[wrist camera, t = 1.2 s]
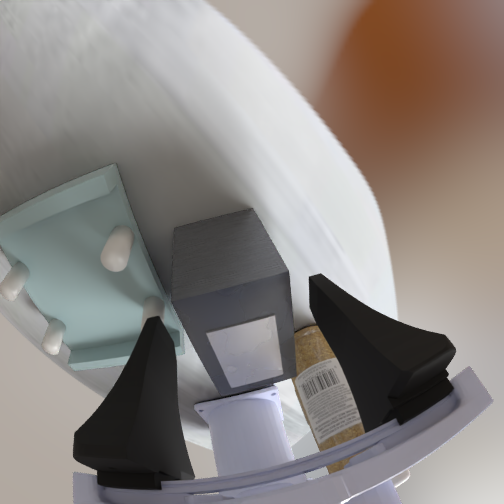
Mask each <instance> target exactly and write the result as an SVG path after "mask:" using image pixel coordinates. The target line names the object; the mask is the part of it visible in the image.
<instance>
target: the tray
mask: <svg viewBox="0 0 504 504" xmlns="http://www.w3.org/2000/svg"><path fill="white" fill-rule="evenodd" d="M0 246H1V248H2V250H3V252H4V253H5V255H6V257H7V259H8V261H9V263H10V265H11V266H12V268H11V270H10V271H9V273H8V274H7V275H6V277H5V278H4V280H3V281H2V283H1V284H0V292H1V294H2V296H3V297H4V298H5V299H7V300H8V301H15V299H16V298H17V296H18V294H19V293H20V291H21V289H22V287H24V288H25V290H26V291H27V293H28V294H29V296H30V297H31V299H32V300H33V302H34V303H35V305H36V306H37V308H38V309H39V311H40V312H41V313H42V315H43V316H44V317H45V319H46V320H47V322H48V323H49V326H48V328H47V331H46V334H45V336H44V339H43V342H42V348H43V349H44V350H45V351H46V352H47V353H49V354H51V355H57V354H58V353H59V349H60V346H61V343H62V341H63V342H64V343H65V344H66V345H67V347H68V348H69V349H70V350H71V353H70V357H69V361H68V365H69V366H70V367H71V368H72V369H73V370H74V371H79V370H88V369H97V368H105V367H113V366H120V365H126V363H127V361H128V359H129V357H130V355H131V353H132V351H133V349H134V347H135V344H136V342H137V340H138V338H139V335H140V333H141V331H142V329H143V326H144V324H145V322H146V320H147V318H150V317H154V316H160V318H161V320H162V322H163V324H164V325H165V327H166V329H167V331H168V333H169V334H170V336H171V338H172V340H173V341H174V345H175V352H176V356H178V355H183V354H185V348H184V331H183V328H182V326H181V324H180V322H179V320H178V318H177V316H176V314H175V312H174V310H173V308H172V306H171V304H170V301H169V299H168V297H167V295H166V293H165V291H164V288H163V286H162V284H161V282H160V280H159V277H158V275H157V273H156V270H155V268H154V266H153V263H152V261H151V259H150V256H149V254H148V251H147V249H146V246H145V244H144V241H143V239H142V236H141V234H140V231H139V229H138V226H137V223H136V221H135V218H134V215H133V213H132V210H131V207H130V204H129V201H128V198H127V196H126V193H125V190H124V187H123V184H122V181H121V177H120V174H119V171H118V168H117V165H116V163H114V164H111V165H109V166H106V167H103V168H101V169H98V170H95V171H93V172H90V173H88V174H85V175H83V176H81V177H78V178H76V179H73V180H71V181H69V182H67V183H64V184H62V185H60V186H58V187H55V188H53V189H51V190H49V191H47V192H45V193H43V194H41V195H39V196H37V197H35V198H33V199H31V200H29V201H27V202H25V203H23V204H21V205H19V206H18V207H16V208H14V209H12V210H10V211H9V212H7V213H5V214H3V215H2V216H0Z"/></svg>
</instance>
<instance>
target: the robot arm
mask: <svg viewBox="0 0 504 504" xmlns="http://www.w3.org/2000/svg"><path fill="white" fill-rule="evenodd" d="M309 304H310V309H311V312H312V314H313V317H314V319H315V321H316V323H317V325H318V327H319V329H320V331H321V332H322V334H323V336H324V338H325V339H326V341H327V343H328V344H329V346H330V348H331V350H332V351H333V353H334V355H335V356H336V358H337V360H338V362H339V364H340V366H341V368H342V371H343V373H344V375H345V378H346V380H347V382H348V385H349V387H350V390H351V392H352V395H353V398H354V400H355V403H356V406H357V409H358V412H359V415H360V418H361V421H362V424H363V428H364V431H365V434H363V435H361V436H358V437H356V438H354V439H352V440H349V441H347V442H344V443H342V444H339V445H337V446H334V447H332V448H329V449H326V450H324V451H321V452H318V453H315V454H312V455H309V456H306V457H303V458H300V459H296V460H295V458H294V455H293V452H292V449H291V446H290V443H289V440H288V437H287V434H286V431H285V428H284V425H283V422H282V421H283V420H284V419H283V413H282V408H281V403H280V397H279V392H278V388H277V387H276V386H272V387H268V388H264V389H261V390H257V391H253V392H249V393H245V394H241V395H237V396H232V397H228V398H223V399H218V400H213V401H208V402H203V403H198V404H195V405H194V409H195V410H196V412H197V413H198V414H199V415H200V416H201V417H202V418H203V419H204V421H205V422H206V423H207V424H208V425H209V429H210V435H211V440H212V446H213V451H214V456H215V462H216V467H217V471H218V477H212V478H203V479H194V478H195V475H194V472H193V469H192V466H191V462H190V459H189V456H188V452H187V448H186V445H185V440H184V436H183V431H182V426H181V421H180V415H179V409H178V396H177V360H176V352H175V345H174V341H173V340H172V338H171V336H170V334H169V333H168V331H167V329H166V327H165V325H164V324H163V322H162V320H161V318H160V316H154V317H150V318H147V320H146V322H145V324H144V326H143V329H142V331H141V333H140V335H139V338H138V340H137V342H136V344H135V347H134V349H133V351H132V353H131V355H130V357H129V359H128V361H127V363H126V365H125V367H124V369H123V371H122V373H121V375H120V377H119V378H118V380H117V382H116V383H115V385H114V387H113V388H112V390H111V391H110V392H109V394H108V395H107V397H106V398H105V399H104V401H103V402H102V404H101V405H100V406H99V407H98V409H97V410H96V411H95V412H94V413H93V414H92V416H91V417H90V418H89V419H88V420H87V421H86V422H85V423H84V424H83V425H82V426H81V427H80V428H79V429H78V430H77V431H76V432H75V434H74V445H73V457H74V459H75V460H76V461H78V462H80V463H81V464H83V465H86V466H88V467H90V468H92V469H95V470H97V476H96V475H92V474H86V473H78V472H74V473H73V499H74V501H73V502H74V504H402V502H401V500H400V498H399V496H398V493H397V491H396V489H395V487H394V485H393V482H392V480H391V479H392V478H393V477H395V476H397V475H399V474H400V473H402V472H404V471H406V470H407V469H409V468H411V467H412V466H414V465H415V464H417V463H418V462H420V461H421V460H423V459H425V458H426V457H427V456H429V455H430V454H432V453H433V452H435V451H436V450H438V449H439V448H440V447H441V446H443V445H444V444H446V443H447V442H448V441H450V440H451V439H452V438H453V437H454V436H456V435H457V434H458V433H460V432H461V431H462V430H463V429H464V428H466V427H467V426H468V425H469V424H470V423H471V422H473V421H474V420H475V419H476V418H477V417H478V416H479V415H480V414H481V413H482V412H484V410H486V409H487V408H488V407H489V406H490V405H491V404H492V403H493V399H492V397H491V396H490V394H489V393H488V391H487V390H486V388H485V387H484V386H483V384H482V383H481V381H480V380H479V378H478V377H477V375H476V374H475V373H474V371H473V370H472V368H471V367H470V366H468V367H467V368H465V369H464V370H463V371H462V372H460V373H459V374H458V375H456V376H455V377H454V378H453V379H452V380H451V381H449V380H448V378H447V377H448V375H449V373H448V372H447V370H446V368H447V366H448V365H449V363H450V362H451V360H452V359H453V357H454V355H455V353H456V348H455V347H454V346H453V344H452V343H451V342H450V340H449V339H448V338H447V337H446V336H445V335H444V334H439V333H434V332H429V331H426V330H422V329H419V328H415V327H412V326H409V325H407V324H404V323H402V322H399V321H397V320H394V319H392V318H390V317H387V316H385V315H383V314H381V313H379V312H377V311H376V310H374V309H372V308H370V307H368V306H367V305H365V304H364V303H362V302H360V301H359V300H357V299H356V298H354V297H353V296H351V295H350V294H348V293H347V292H345V291H344V290H343V289H341V288H340V287H339V286H337V285H336V284H334V283H333V282H332V281H330V280H329V279H328V278H326V277H325V276H324V275H322V274H321V273H320V274H317V275H314V276H310V277H309ZM367 449H368V450H367ZM364 450H366V451H364ZM362 451H364V452H362ZM360 452H362V453H360ZM358 453H360V454H358ZM355 454H358V455H356V456H354V457H352V458H351V459H350V460H349V463H348V464H346V465H345V466H344V469H342V470H340V471H337V472H334V473H331V474H328V475H325V476H322V477H319V478H316V479H313V478H308V479H307V478H306V475H305V474H304V473H307V472H311V471H314V470H316V469H319V468H322V467H325V466H328V465H331V464H333V463H336V462H339V461H341V460H344V459H346V458H348V457H351V456H353V455H355ZM301 474H302V475H301ZM214 492H219V494H213V495H212V494H211V495H193V494H205V493H214Z"/></svg>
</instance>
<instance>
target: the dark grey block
mask: <svg viewBox="0 0 504 504" xmlns="http://www.w3.org/2000/svg"><path fill="white" fill-rule="evenodd" d="M171 302H172V304H173V306H174V309H175V311H176V313H177V315H178V317H179V319H180V321H181V323H182V325H183V327H184V329H185V331H186V333H187V335H188V337H189V339H190V341H191V343H192V345H193V347H194V349H195V350H196V352H197V354H198V356H199V358H200V360H201V362H202V363H203V365H204V367H205V369H206V371H207V372H208V374H209V376H210V378H211V380H212V381H213V383H214V385H215V386H216V388H217V390H218V392H219V393H220V395H221V396H226V395H230V394H235V393H239V392H243V391H247V390H251V389H255V388H259V387H263V386H266V385H270V384H273V383H277V382H280V381H284V380H287V379H290V378H293V377H296V376H297V370H296V353H295V338H294V324H293V311H292V299H291V287H290V276H289V270H288V268H287V267H286V265H285V263H284V261H283V260H282V258H281V256H280V254H279V253H278V251H277V249H276V247H275V246H274V244H273V242H272V240H271V239H270V237H269V235H268V233H267V232H266V230H265V228H264V226H263V225H262V223H261V221H260V220H259V218H258V216H257V214H256V213H255V211H254V209H253V208H252V209H247V210H243V211H239V212H235V213H231V214H227V215H223V216H219V217H215V218H211V219H207V220H203V221H199V222H195V223H191V224H188V225H184V226H180V227H176V228H174V242H173V261H172V289H171Z"/></svg>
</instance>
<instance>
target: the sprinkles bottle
mask: <svg viewBox="0 0 504 504" xmlns="http://www.w3.org/2000/svg"><path fill="white" fill-rule="evenodd" d="M294 338H295V353H296V370H297V376H296V377H293V378H291V379H292V382H293V384H294V387H295V392H296V395H297V398H298V400H299V403H300V406H301V408H302V411H303V413H304V416H305V418H306V421H307V423H308V425H309V426H310V428H311V430H312V433H313V436H314V438H315V441H316V443H317V445H318V448H319V450H320V452H321V451H324V450H326V449H329V448H332V447H334V446H337V445H339V444H342V443H344V442H347V441H349V440H352V439H354V438H356V437H358V436H361V435H363V434H365V431H364V428H363V424H362V421H361V418H360V415H359V412H358V409H357V406H356V403H355V400H354V398H353V395H352V392H351V390H350V387H349V385H348V382H347V380H346V378H345V375H344V373H343V371H342V368H341V366H340V364H339V362H338V360H337V358H336V356H335V355H334V353H333V351H332V350H331V348H330V346H329V344H328V343H327V341H326V339H325V338H324V336H323V334H322V332H321V331H320V329H319V327H318V325H316V326H310V327H307V328H304V329H302V330H300V331H298V332H296V333H295V334H294ZM367 450H368V449H367ZM364 451H366V450H364ZM364 451H362V452H364ZM362 452H360V453H362ZM360 453H358V454H360ZM358 454H355V455H353V456H351V457H348V458H346V459H344V460H341V461H339V462H336V463H333V464H331V465H328V466H326V467H327V469H328V472H329V474H331V473H334V472H337V471H340V470H342V469H344V466H345V465H346V464H348V463H349V460H350V459H351V458H352V457H354V456H356V455H358ZM409 477H410V471H409V469H407V470H406V471H404V472H402V473H400V474H399V475H397V476H395V477H393V478H392V479H391V480H392V482H393V485H394V487H395V488H396V487H398V486H399V485H400V484H401V483H403V482H405V481H406V480H407V479H408V478H409Z"/></svg>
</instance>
